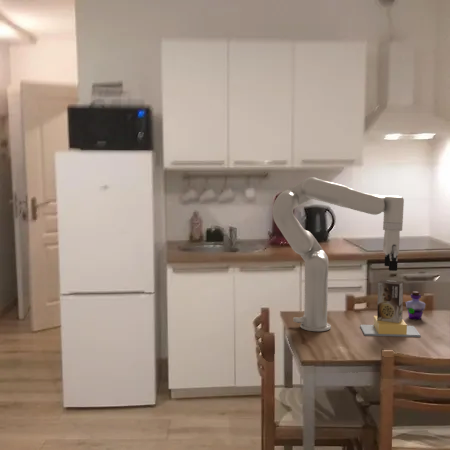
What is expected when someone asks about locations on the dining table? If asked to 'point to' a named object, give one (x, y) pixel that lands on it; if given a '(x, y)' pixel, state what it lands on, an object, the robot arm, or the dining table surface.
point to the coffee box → (390, 301)
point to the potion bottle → (415, 306)
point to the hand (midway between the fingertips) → (390, 268)
